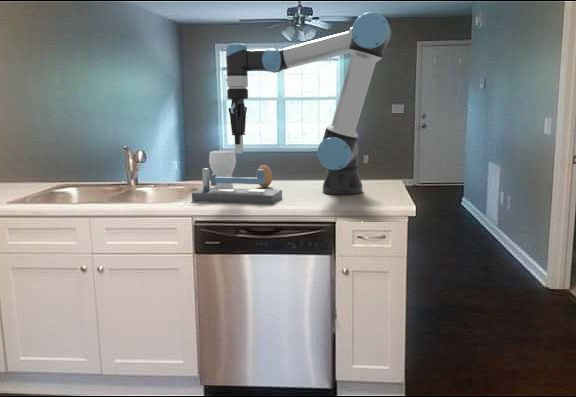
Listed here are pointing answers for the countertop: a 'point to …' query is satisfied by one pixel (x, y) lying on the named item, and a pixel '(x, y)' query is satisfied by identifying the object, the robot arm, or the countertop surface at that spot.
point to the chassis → (234, 194)
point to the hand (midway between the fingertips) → (239, 152)
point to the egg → (266, 176)
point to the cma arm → (239, 179)
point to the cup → (222, 165)
